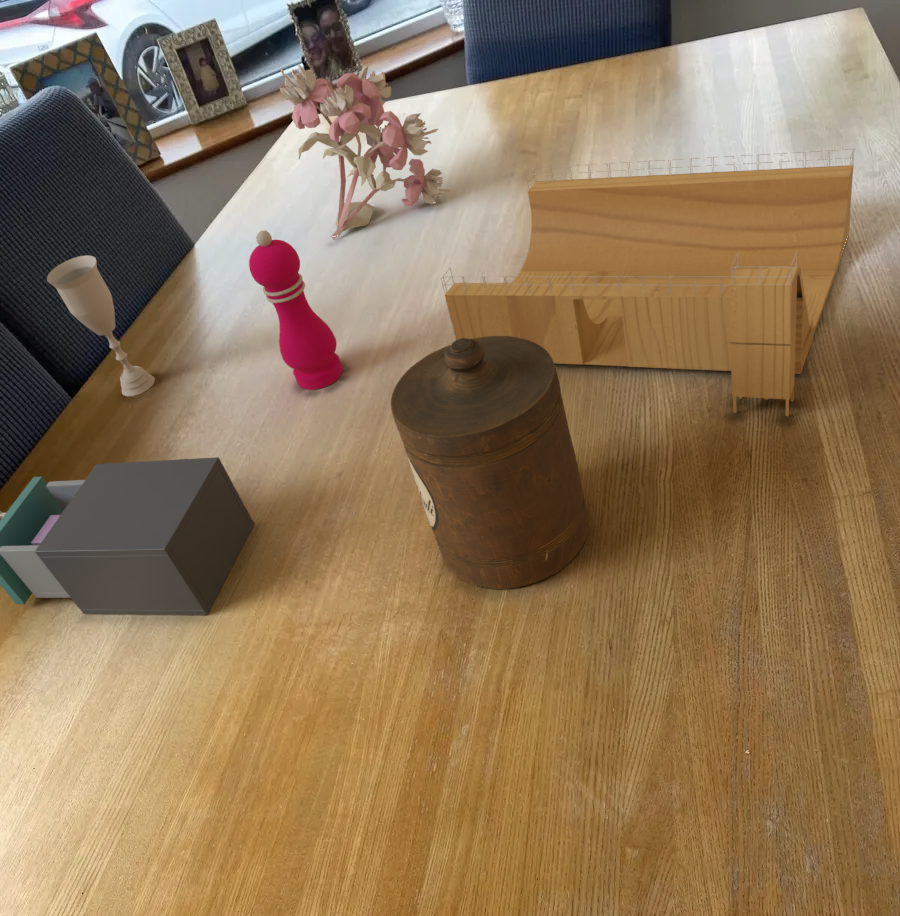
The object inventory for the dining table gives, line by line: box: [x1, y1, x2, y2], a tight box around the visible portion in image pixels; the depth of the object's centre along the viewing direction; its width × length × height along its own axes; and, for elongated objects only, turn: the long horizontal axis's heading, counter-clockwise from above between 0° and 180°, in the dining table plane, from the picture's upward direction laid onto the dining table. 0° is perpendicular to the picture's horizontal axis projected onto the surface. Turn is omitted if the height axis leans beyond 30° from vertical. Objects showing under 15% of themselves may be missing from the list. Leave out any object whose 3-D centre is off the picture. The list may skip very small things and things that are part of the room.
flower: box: [279, 64, 451, 241], centre depth 145 cm, size 20×22×25 cm
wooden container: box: [390, 336, 590, 590], centre depth 85 cm, size 15×15×22 cm
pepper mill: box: [248, 230, 343, 391], centre depth 116 cm, size 7×7×20 cm
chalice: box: [46, 255, 156, 397], centre depth 127 cm, size 7×7×18 cm
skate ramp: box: [440, 148, 855, 417], centre depth 108 cm, size 40×35×16 cm
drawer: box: [0, 476, 86, 605], centre depth 104 cm, size 21×12×8 cm, turn 77°
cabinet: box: [35, 456, 255, 616], centre depth 100 cm, size 16×14×10 cm
